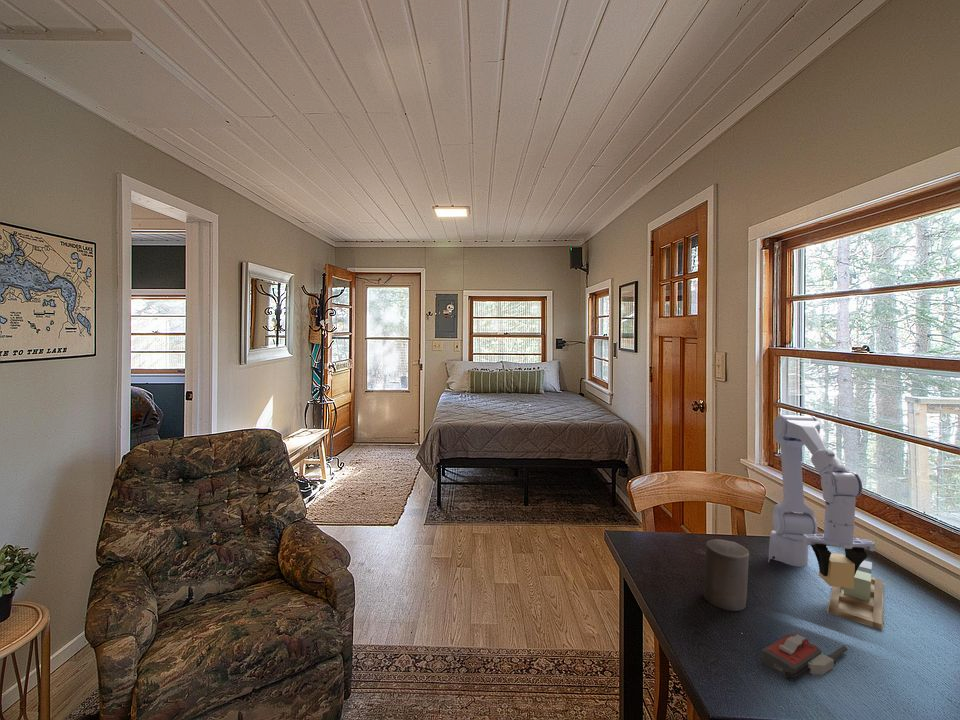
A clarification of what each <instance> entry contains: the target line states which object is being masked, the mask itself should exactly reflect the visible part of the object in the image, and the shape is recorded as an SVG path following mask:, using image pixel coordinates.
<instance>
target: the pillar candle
mask: <svg viewBox="0 0 960 720" xmlns="http://www.w3.org/2000/svg"><path fill="white" fill-rule="evenodd" d="M704 560H705V561H704V580H703V595H702V596H703V597H704V599H705V600H706V602H707V603H709V604H711V605H713V606H714V607H716V608H719V609H722V610H725V611H731V612H732V611H734V612H739V611H743V610H744V609H745V608H746V606H747V594H748V575H749V562H750V550H748V549H747V548H746V547H745V546H743V545H741V544H740V543H737V542H735V541H731V540H725V539H719V538H715V539H710V540H707V541H706V545H705V559H704Z"/></svg>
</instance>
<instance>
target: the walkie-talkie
mask: <svg viewBox="0 0 960 720" xmlns="http://www.w3.org/2000/svg"><path fill="white" fill-rule="evenodd" d="M847 651H848V647H847V646H845V645H841V646H840V647H839V648H837V649H836V650H835V651H833V652H832V653H830V654H829V655H828V654H827V655H826V654H824V653H822V652H823V651H822V650H821V648H820V647H819V646H817V645H815V644H813V643H811V642H810V641H809V639H807V638H806V637H804V636H802V635H800V634H798V633H793V634H792V633H786V634H784V635H783V636H781V637H780V638H778V639H777V640H775V641H774V642H772V643H769V645H767V646H765V647H764V648H762V649H761V655H760V656H761V657H760V659H761V660H760V661H761V662H762V664H764V665H765V666H767V667H768V668H770V669H771V670H773V671H775V672H777V673H778V674H780V675H782V676H784V677H785V678H786V679H788V680H789V681H796V680H797V679H799V678H800V677H802V676H803V675H804V674H806V673H808V674H810V675H817V676H824V675H825V674H826V673H827V672H829V671H831V670H833V669H834V666H835V665H834V664H835V662H834V661H835V660H837V659H838V658H840V657H841V656H842V655H843V654H844V653H845V652H847Z"/></svg>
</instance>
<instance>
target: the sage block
mask: <svg viewBox="0 0 960 720" xmlns="http://www.w3.org/2000/svg"><path fill="white" fill-rule="evenodd" d="M871 577H872V573H871V574H870V573H866V572H862V571H858V570H857V571H856V574H855V576H854V589H853V588H844V595H847V596H850V597H854V598H857V599H860V600H864V601H867V602H870V589H871Z"/></svg>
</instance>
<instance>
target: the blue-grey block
mask: <svg viewBox="0 0 960 720" xmlns="http://www.w3.org/2000/svg"><path fill="white" fill-rule="evenodd" d="M857 570H858V571H862V572H866V573H870V574H871V575H872V570H873V561H869V560H866V559H865V560H864V561H863V562H862V563H861V564H860V566H859V567H858V569H857Z"/></svg>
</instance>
